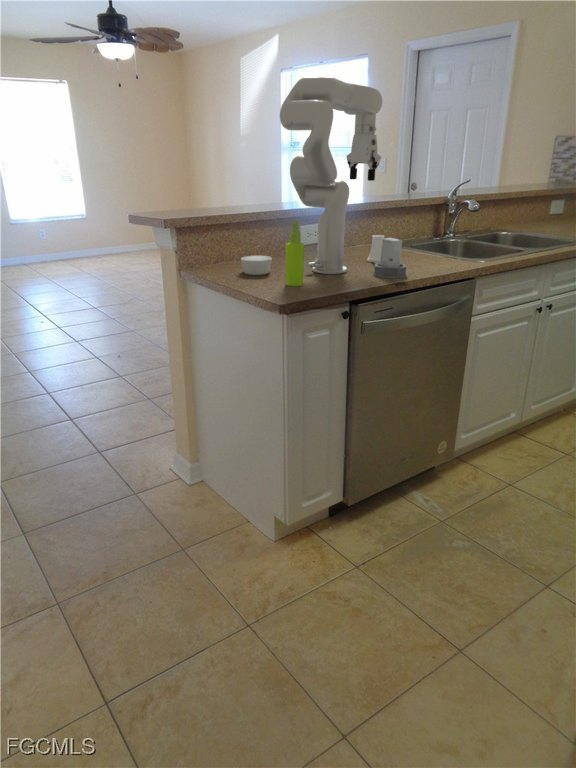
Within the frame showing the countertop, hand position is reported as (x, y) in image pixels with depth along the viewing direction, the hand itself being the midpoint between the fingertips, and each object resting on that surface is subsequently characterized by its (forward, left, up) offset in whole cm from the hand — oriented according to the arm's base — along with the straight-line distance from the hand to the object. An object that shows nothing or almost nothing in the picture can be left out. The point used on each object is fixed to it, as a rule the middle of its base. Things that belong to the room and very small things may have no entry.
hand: (361, 179), depth 210 cm
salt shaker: (+4, -7, -31) cm, 32 cm away
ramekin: (-47, +4, -31) cm, 56 cm away
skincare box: (-11, -28, -30) cm, 42 cm away
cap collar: (-11, -28, -30) cm, 42 cm away
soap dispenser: (-47, -18, -31) cm, 59 cm away
